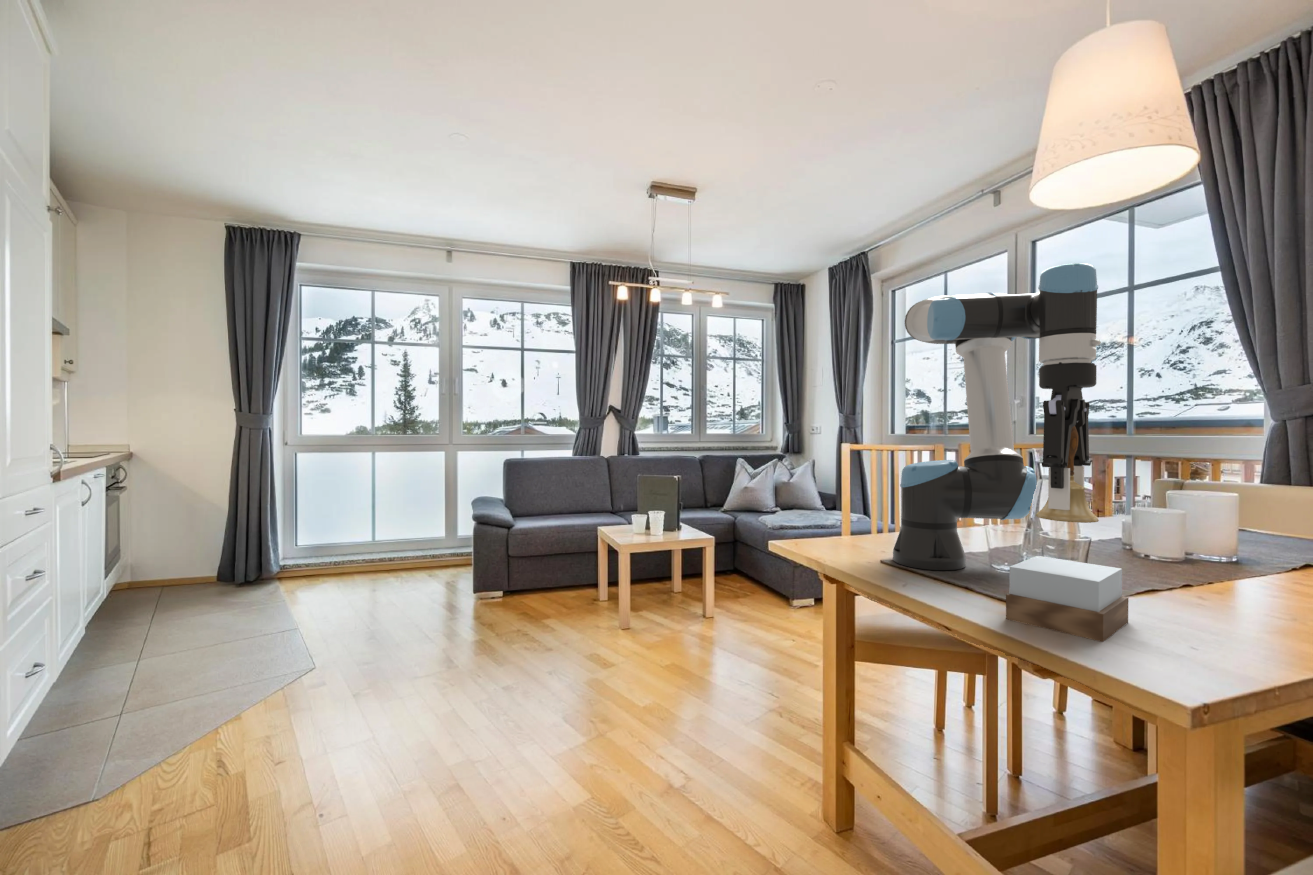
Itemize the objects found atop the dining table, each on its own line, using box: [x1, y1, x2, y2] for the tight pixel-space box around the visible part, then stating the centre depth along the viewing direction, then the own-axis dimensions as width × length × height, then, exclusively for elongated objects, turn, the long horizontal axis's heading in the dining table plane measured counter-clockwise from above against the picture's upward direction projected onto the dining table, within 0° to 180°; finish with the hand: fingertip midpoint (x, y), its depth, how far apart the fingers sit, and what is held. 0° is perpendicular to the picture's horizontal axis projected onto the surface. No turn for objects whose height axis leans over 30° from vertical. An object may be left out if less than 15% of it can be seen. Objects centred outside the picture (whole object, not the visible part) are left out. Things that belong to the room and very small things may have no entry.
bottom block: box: [1005, 592, 1129, 643], centre depth 94 cm, size 13×13×4 cm
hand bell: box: [1035, 426, 1100, 524], centre depth 93 cm, size 8×8×16 cm
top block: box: [1008, 555, 1123, 612], centre depth 94 cm, size 12×12×4 cm
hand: (1066, 506), depth 94 cm, fingers closed on hand bell, 6 cm apart
